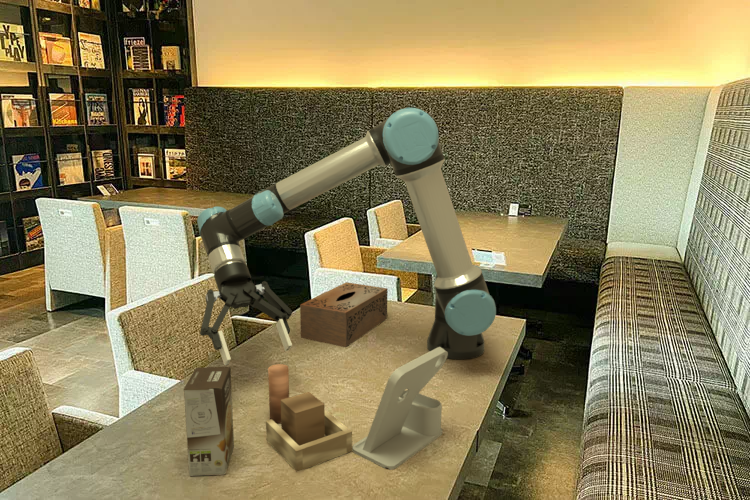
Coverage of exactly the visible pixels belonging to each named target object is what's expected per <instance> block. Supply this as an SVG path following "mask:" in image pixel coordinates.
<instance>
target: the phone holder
mask: <svg viewBox="0 0 750 500" xmlns="http://www.w3.org/2000/svg"><path fill="white" fill-rule="evenodd" d="M447 356H448V352H447V351H445V350H444V349H443V348H441V347H438V348H436V349H434V350H432V351H428V352H426V353H424V354H422V355H420V356H417V357H416V358H415V359H412V360H411V361H408V362H406V363H405V364H403V365H401V366H399V367H397V368H396V369H395V370H393V372H392V373H391V375H390V376H389V378H388V379H387V382H386V385H385V388H384V390H383V393H382V395H381V398H380V401H379V404H378V407H377V409H376V412H375V415H374V417H373V420H372V423H371V425H370V428H369V432H368V433H367V435H366V436H365V437H364V438H361V439H360V440H359V441H357V442H355V443H354V444H352V451H351V452H352V453H353V454H355V455H357V456H359V457H361V458H363V459H364V460H366V461H368V462H371V463H373V464H375V465H377V466H379V467H381V468H383V469H388V470H395V469H397V468H398V467H400V466H402V465H403V464H404V463H405V462H406V461H408V460H410V459H411V458H412V457H413V456H415V455H417V454H418V453H419V452H420V451H422V450H423V449H424V448H426V447H427V446H429V445H430V444H432V442H434V441H436V440H437V439H438V438H439V437H441V436H443V428H442V410H443V409H442V408H443V405H442V404H443V403H441V402H440V401H439V400H438V399H435V398H433V397H431V396H427V395H425V394H422V393H420V392H421V391H422V390H423V389H424V388H425V387H426V385H427V384H428V383H430V381H431V380H432V379H433V378H434V377H435V375H436V374H438V372H439V371H440V370H441V369H442V367H444V365H445V363H446V360H447V359H448V358H447Z"/></svg>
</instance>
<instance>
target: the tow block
mask: <svg viewBox="0 0 750 500" xmlns="http://www.w3.org/2000/svg"><path fill="white" fill-rule="evenodd" d="M289 371H290V369H289V366H288V365H287V364H282V363H281V364H280V363H278V364H276V363H275V364H272V365H270V366H269V367H268V368H267V373H268V374H267V375H268V398H269V399H268V403H269V404H268V405H269V407H268V408H269V420H271V419H272V420H273V421H274V422H275V423H276V424H277V425H279V424H280V425H281V427H280V428H281V429H282V430H283V431H284V432H285V433H286V434H288V435H289V436H290V437H291V438H292V439H293V440H294V441H295V442H296V443H297V444H298V445H299V446H300V445H303V444H306V443H309V442H312V441H314V440H317V439H320V438H323V437H326V435H325V410H326V409H325V403H324V402H323V401H322V400H320V399H318V398H317V397H316V396H315V395H314V394H313V393H311V392H310V391H307V392H306V391H305V392H303V393H300V394H297V395H294V396H290V380H289V379H290V375H289V373H290V372H289Z"/></svg>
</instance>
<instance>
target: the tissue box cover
mask: <svg viewBox="0 0 750 500" xmlns="http://www.w3.org/2000/svg"><path fill="white" fill-rule="evenodd" d="M299 307H300V308H299V309H300V310H299V312H300V314H299V315H300V317H299V318H300V339H303V340H307V341H308V340H309V341H314V342H319V343H324V344H328V345H334V346H338V347H343V348H347V347H348V346H350V345H351V344H353V343H354V342H355V341H357V340H359V339H360V338H362V337H363V336H365V335H366V334H367V333H369V332H370V331H371V330H373V329H375V328H376V327H377V325H378V326H379V325H380V324H381V323H383V322H385V321H386V320H388V288H387V287H379V286H373V285H367V284H360V283H353V282H344V283H341V284H340V285H338V286H335V287H334V288H331V289H329V290H328V291H325V292H323V293H321V294H319V295H316V296H315V297H314V298H313V297H312V298H311V299H309V300H307V301H305V302H303V303H300V305H299Z"/></svg>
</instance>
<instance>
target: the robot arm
mask: <svg viewBox="0 0 750 500" xmlns="http://www.w3.org/2000/svg"><path fill="white" fill-rule="evenodd" d="M439 138H440V135H439V128H438V126H437V123H436V122H435V120H434V118H432V116H430V114H429V113H427V111H424V110H422V109H420V108H417V107H405V108H401V109H399V110H397V111H395V112H393V113H392V114H390V115H389V116H388V117H387V118H386V119H385V120H383V121H382V122H381V123H379V124H377V125H376V126H374V127H373V128H371V129H369V130H367V132H366V134H365V136H364V137H362V138H360V139H358V140H357V141H355V142H353V143H351V144H349V145H347V146H345V147H344V148H341V149H339V150H337V151H336V152H334V153H332V154H330V155H328V156H326V157H324V158H322V159H320V160H318V161H317V162H314V163H313V164H310V165H309V166H307V167H304V168H303V169H301V170H298V171H297V172H295V173H294V174H291V175H289V176H287V177H286V178H284V179H282V180H279V181H278V182H276V183H274V184H272V185H270V186H268V187H266V188H265V189H261V190H259V191H257V192H256V193H254V195H252V196H250V198H248V199H246V200H245V201H243V202H241V203H239V204H237V205H236V206H234V207H232V208H230V209H228V210H227V209H226V208H225V207H223V206H213V207H210V208H209V207H208V208H206V209H204V210H202V211H201V212H200V213H199V215H198V217H197V226H198V231H199V236H200V238H201V240H202V244H203V246H204V249H205V252H206V255H207V258H208V262H209V264H210V265H209V266H210V268H211V271H212V274H213V278H214V281H215V284H216V287H217V290H218V291H217V290H216V291H214V290H213V289H208V290H207V292H206V293H205V298H204V299H205V304H206V306H205V309H204V314H203V318H202V323H201V326H200V331H199V335H200V336H202V337H204V336H208V338H209V339H211V342H212V345H213V348H214V350H215V351H219V353H220V356H221V359H222V361H223V362H222V363H223V365H224V366H228V365H229V364H230V361H231V360H232V358H231V355H230V351H229V348H228V345H227V341H226V339H225V336H224V332H223V330H219V329H220V326H221V325H222V323H223V321H224V319H225V317H226V315H227V313H228V311H229V310H230V308H232V309H234V310H237V309H239V308H247V307H249V306H251V307H252V308H254V309H255V308H256V309H257V310H258V311H260V312H262V313H263V314H265V315H266V316H268V317H269V318H271V319H272V320H273V321H276V324H275V326H276V330H277V332H278V335H279V337H280V341H281V343H282V344H281V345H282V346H283V349H284V352H288V351H289V350H290V349H291V348H292V347H293V343H292V341H291V338H290V336H289V334H290V332H291V328H290V326H289V323H288V320H289V319H290V318H291V316H292V315H293V310H292V309H291V308H290V307H289V306H288V305H287V304H286V303H285V302H284V301H283V300H282V299H281V298H280V297H279V296H278V295H277V294H276V293H275V292H274V291H273V290H272V289H271V288H270V286H269V284H268V281H265V280H263V281H262V282H261V283H260V284H256V285H255V284H254V283H253V280H252V276H251V274H250V270H249V267H248V266H247V264H246V263H247V262H246V259H245V256H244V254H243V251H242V248H241V245H240V242H241V241H243V240H245V239H246V238H248V237H250V236H252V235H254V234H257V232H260V231H263V229H266V228H267V227H269V226H273V225H274V224H275V223H276V222H278V221H280V220H282V219H283V217H284V214H286V213H288V212H289V211H291V210H293V209H295V208H297V207H299V206H301V205H303V204H305V203H307V202H309V201H311V200H313V199H314V198H316V197H318V196H321V195H323V194H325V193H327V192H329V191H330V190H332V189H334V188H337V187H339V186H341V185H342V184H344V183H347V182H348V181H350V180H352V179H354V178H356V177H359V176H360V175H362V174H363V173H366V172H367V171H370V170H371V169H374V168H376V167H377V166H382V167H387V166H388V165H390V164H391V167H392V169H393V172H394V174H395V177H396V178H397V179H400V180H401V181H403V182H404V183H405V186H406V190H407V192H408V194H409V197H410V200H411V203H412V206H413V207H412V208H413V209H414V213H415V214H416V218H417V220H418V223H419V224H418V225H419V226H420V229H421V232H422V236H423V237H424V241H425V244H426V247H427V249H428V252H429V255H430V258H431V260H432V264H433V266H434V270H435V272H436V273H435V278H436V279H435V281H434V283H433V285H434V288H435V289H434V290H435V303H434V305H435V306H434V321H433V324H432V327H431V329H430V331H429V334H428V337H427V340H426V341H427V342H426V343H427V345H426V346H427V347H426V348H427V350H428V352H430V351H432V350H434V349H436V348H438V347H441V348H443V349H444V350H445V351H447V352H448V356H447V358H446V359H450V360H451V359H452V360H469V359H475V358H477V357H480V356H482V355H483V354H484V352H485V340H484V336H483V333H484V332H486V331H487V330H488V329H489V328H490V327H491V326H492V324H493V322H494V321H495V318H496V316H497V307H496V302H495V300H494V298H493V296H492V295H490V292H489V289H488V286H487V283H486V281H485V277H484V273H483V272H482V268H481V267H480V266H478V265H474V264H473V262H472V259H471V256H470V253H469V249H468V247H467V243H466V241H465V238H464V234H463V232H462V229H461V225H460V223H459V220H458V217H457V213H456V211H455V208H454V205H453V202H452V200H451V199H452V198H451V196H450V193H449V189H448V187H447V183H446V181H445V178H444V175H443V172H442V167H443V165H444V163H445V159H446V158H445V155H444V152H443V150H442V146H441V143H440V140H439ZM257 292H258V293H259V294H257ZM261 295H262V296H263V298H264V299H265V300H264V299H263V298H262V296H261ZM218 299H220V300H221V301H222V302H224V305H223V306H222V308H221V311H220V312H219V314H218V316H217V318H216V319H215V321H214V323H213V326H212V327H211V326H209V325H210V321H211V318H212V313H213V308H214V304H215V303H216V302H217V300H218Z"/></svg>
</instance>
